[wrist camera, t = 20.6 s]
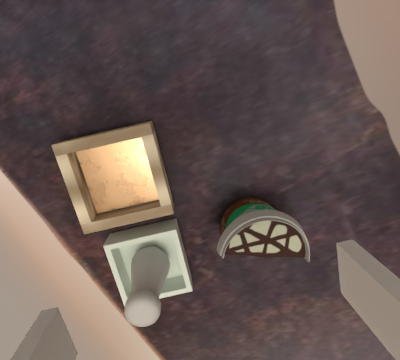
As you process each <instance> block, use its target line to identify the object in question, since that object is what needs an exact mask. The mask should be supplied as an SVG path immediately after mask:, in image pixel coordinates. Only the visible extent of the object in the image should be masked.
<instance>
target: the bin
mask: <svg viewBox="0 0 400 360" xmlns="http://www.w3.org/2000/svg"><path fill="white" fill-rule="evenodd" d="M152 245H154V246H156V247H158V248H160V249H161V250H163V251H164V252H165V253H166V254H167V256H168V259H169V262H170V268H169V273H168V275H167V278H166V280H165V283H164V285H163V288H162V290H161V293H160V296H159V299H160V298H165V297H169V296H173V295H178V294H182V293H186V292H191V291H193V290H192V275H191V272H190V268H189V264H188V260H187V256H186V253H185V249H184V245H183V241H182V237H181V234H180V230H179V226H178V222H177V218H175V219H170V220H166V221H161V222H157V223H153V224H148V225H144V226H140V227H135V228H131V229H127V230H122V231H118V232H113V233H110V234H109V236H108V238H107V240H106V242H105V244H104V246H103V247H104V250H105V252H106V255H107V258H108V261H109V264H110V267H111V269H112V272H113V275H114V278H115V281H116V284H117V286H118V289H119V292H120V295H121V298H122V301H123V303H124V306H125V304H126V301H127V299H128V298H129V296H130V295H131V263H132V258H133V257H134V255H135V254H136V253H137V251H139V250H140V249H142V248H145V247H148V246H152Z"/></svg>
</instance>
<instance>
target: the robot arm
mask: <svg viewBox="0 0 400 360" xmlns="http://www.w3.org/2000/svg"><path fill="white" fill-rule="evenodd" d="M336 244H337V255H338V266H339V277H340V288H341V293H342V295H343V296H344V297H345V298H346V300H347V301H348V302H349V303H350V304H351V306H352V307H353V308H354V309H355V311H356V312H357V313H358V314H359V315H360V317H361V318H362V319H363V320H364V322H365V323H366V324H367V325H368V327H369V328H370V329H371V330H372V331H373V333H374V334H375V335H376V336H377V338H378V339H379V340H380V341H381V343H382V344H383V345H384V346H385V347H386V349H387V350H388V351H389V352H390V354H391V355H392V356H393V357H394V358H395V360H400V279H399V278H398V277H397V276H395V275H394V274H393V273H392V272H391V271H390V270H388V269H387V268H386V267H385V266H384V265H382V264H381V263H380V262H379V261H378V260H376V259H375V258H374V257H373V256H372V255H370V254H369V253H368V252H367V251H366V250H365V249H363V248H362V247H361V246H360V245H359V244H357V243H356V242H355V241H354V240H348V241H344V242H340V243H336ZM77 354H78V353H77V350H76V348H75V346H74V343H73V341H72V339H71V336H70V334H69V332H68V330H67V327H66V325H65V323H64V320H63V318H62V316H61V313H60V311H59V309H58V307H56V308H52V309H48V310H43V311H41V313H40V314H39V316H38V317H37V319H36V321H35V322H34V324H33V325H32V327H31V328H30V330H29V331H28V333H27V334H26V336H25V338H24V339H23V341H22V342H21V344H20V346H19V347H18V349H17V350H16V352H15V353H14V355H13V357H12V358H11V360H75V359H76V356H77Z"/></svg>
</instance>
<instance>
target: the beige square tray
mask: <svg viewBox="0 0 400 360" xmlns="http://www.w3.org/2000/svg"><path fill="white" fill-rule="evenodd" d="M138 137H142V140H143V143H144V147H145V151H146V154H147V158H148V162H149V165H150V169H151V172H152V176H153V180H154V183H155V187H156V191H157V194H158V198H159V199H158V200H153V201H149V202H145V203H140V204H136V205H131V206H127V207H123V208H118V209H114V210H110V211H105V212H101V213H97V211H96V208H95V205H94V203H93V200H92V197H91V194H90V191H89V188H88V185H87V182H86V180H85V177H84V174H83V171H82V168H81V165H80V162H79V159H78V156H77V154H76V152H77V151H81V150H86V149H90V148H95V147H99V146H103V145H108V144H112V143H116V142H121V141H125V140H130V139H134V138H138ZM51 146H52V149H53V151H54V154H55V157H56V159H57V162H58V165H59V168H60V170H61V173H62V176H63V178H64V181H65V184H66V186H67V189H68V192H69V195H70V197H71V200H72V203H73V205H74V208H75V211H76V214H77V216H78V219H79V222H80V224H81V227H82V230H83V232H84V234H88V233H92V232H97V231H101V230H105V229H110V228H114V227H118V226H123V225H127V224H131V223H136V222H140V221H145V220H149V219H153V218H158V217H162V216H166V215H171V214H174V202H173V198H172V194H171V190H170V186H169V183H168V179H167V175H166V171H165V167H164V163H163V160H162V156H161V152H160V148H159V144H158V140H157V137H156V133H155V129H154V125H153V121H148V122H143V123H139V124H135V125H130V126H126V127H121V128H117V129H113V130H108V131H104V132H99V133H95V134H91V135H86V136H82V137H78V138H73V139H69V140H64V141H61V142H58V143H56V144H53V145H51Z"/></svg>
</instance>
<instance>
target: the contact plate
mask: <svg viewBox="0 0 400 360" xmlns="http://www.w3.org/2000/svg"><path fill="white" fill-rule="evenodd" d="M76 154H77V156H78V159H79V162H80V165H81V168H82V171H83V174H84V177H85V180H86V182H87V185H88V188H89V191H90V194H91V197H92V200H93V203H94V205H95V208H96V211H97V213H101V212H105V211H110V210H114V209H118V208H123V207H127V206H131V205H136V204H140V203H145V202H149V201H153V200H158V199H159V198H158V194H157V191H156V187H155V183H154V180H153V176H152V172H151V169H150V165H149V162H148V158H147V154H146V151H145V147H144V143H143V140H142V137H138V138H134V139H130V140H125V141H121V142H116V143H112V144H108V145H103V146H99V147H95V148H90V149H86V150H81V151H77V152H76Z"/></svg>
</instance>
